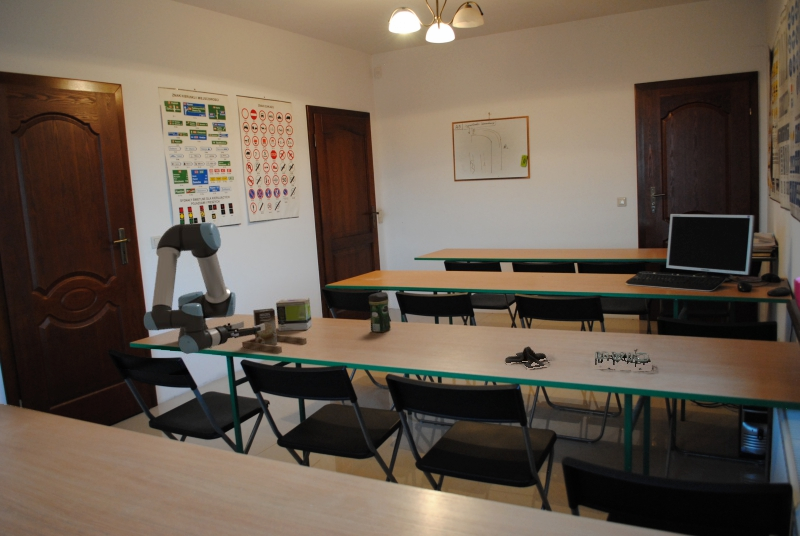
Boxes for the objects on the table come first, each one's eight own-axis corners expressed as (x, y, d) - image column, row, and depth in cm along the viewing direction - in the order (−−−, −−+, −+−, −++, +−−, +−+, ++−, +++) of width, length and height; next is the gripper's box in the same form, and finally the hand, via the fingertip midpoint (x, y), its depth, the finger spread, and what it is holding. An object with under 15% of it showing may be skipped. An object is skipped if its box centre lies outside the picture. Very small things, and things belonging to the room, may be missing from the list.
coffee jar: (380, 327, 287) (377, 290, 285) (393, 329, 282) (390, 291, 280) (367, 332, 279) (365, 294, 277) (380, 333, 275) (378, 295, 272)
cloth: (540, 373, 205) (540, 357, 204) (494, 366, 217) (494, 350, 216) (567, 357, 222) (566, 342, 221) (523, 351, 234) (522, 336, 233)
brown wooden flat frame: (242, 347, 264) (242, 342, 263) (270, 338, 278) (269, 333, 277) (279, 353, 250) (278, 347, 250) (306, 343, 264) (306, 338, 264)
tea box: (312, 325, 300) (310, 297, 299) (307, 330, 291) (304, 301, 289) (283, 326, 302) (281, 298, 300) (278, 331, 292) (275, 302, 290)
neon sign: (651, 339, 224) (653, 361, 197) (651, 350, 225) (653, 373, 198) (593, 337, 232) (588, 358, 205) (593, 347, 233) (588, 370, 206)
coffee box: (257, 347, 262) (254, 312, 260) (255, 344, 268) (252, 310, 266) (277, 344, 265) (274, 310, 263) (275, 341, 271) (272, 307, 269)
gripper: (196, 342, 250) (235, 331, 267) (236, 348, 236) (274, 336, 253) (195, 325, 249) (233, 315, 266) (234, 330, 235) (272, 319, 252)
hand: (253, 325), depth 260 cm, fingers open, 13 cm apart
